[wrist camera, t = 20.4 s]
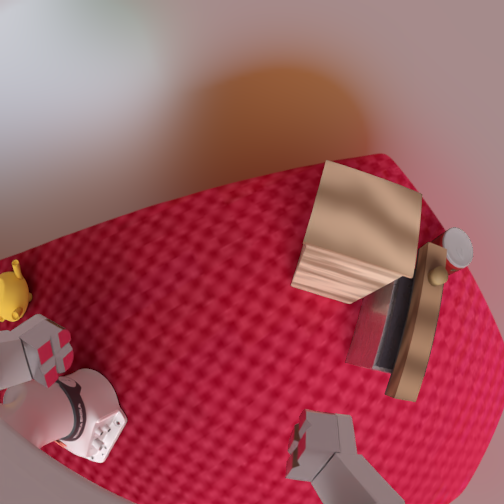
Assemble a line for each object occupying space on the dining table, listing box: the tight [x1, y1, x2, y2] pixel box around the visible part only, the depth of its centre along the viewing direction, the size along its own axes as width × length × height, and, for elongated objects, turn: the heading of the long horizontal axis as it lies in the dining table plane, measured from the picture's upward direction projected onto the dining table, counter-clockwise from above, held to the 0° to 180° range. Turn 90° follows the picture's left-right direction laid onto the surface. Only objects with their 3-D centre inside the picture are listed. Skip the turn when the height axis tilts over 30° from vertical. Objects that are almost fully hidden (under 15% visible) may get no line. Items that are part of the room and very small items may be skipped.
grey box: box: [345, 269, 444, 375], centre depth 44 cm, size 16×9×16 cm, turn 161°
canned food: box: [430, 227, 473, 275], centre depth 50 cm, size 8×8×11 cm
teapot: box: [0, 260, 32, 322], centre depth 52 cm, size 14×14×11 cm
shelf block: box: [291, 160, 422, 304], centre depth 43 cm, size 11×13×26 cm
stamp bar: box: [385, 242, 448, 402], centre depth 34 cm, size 22×4×6 cm, turn 161°
